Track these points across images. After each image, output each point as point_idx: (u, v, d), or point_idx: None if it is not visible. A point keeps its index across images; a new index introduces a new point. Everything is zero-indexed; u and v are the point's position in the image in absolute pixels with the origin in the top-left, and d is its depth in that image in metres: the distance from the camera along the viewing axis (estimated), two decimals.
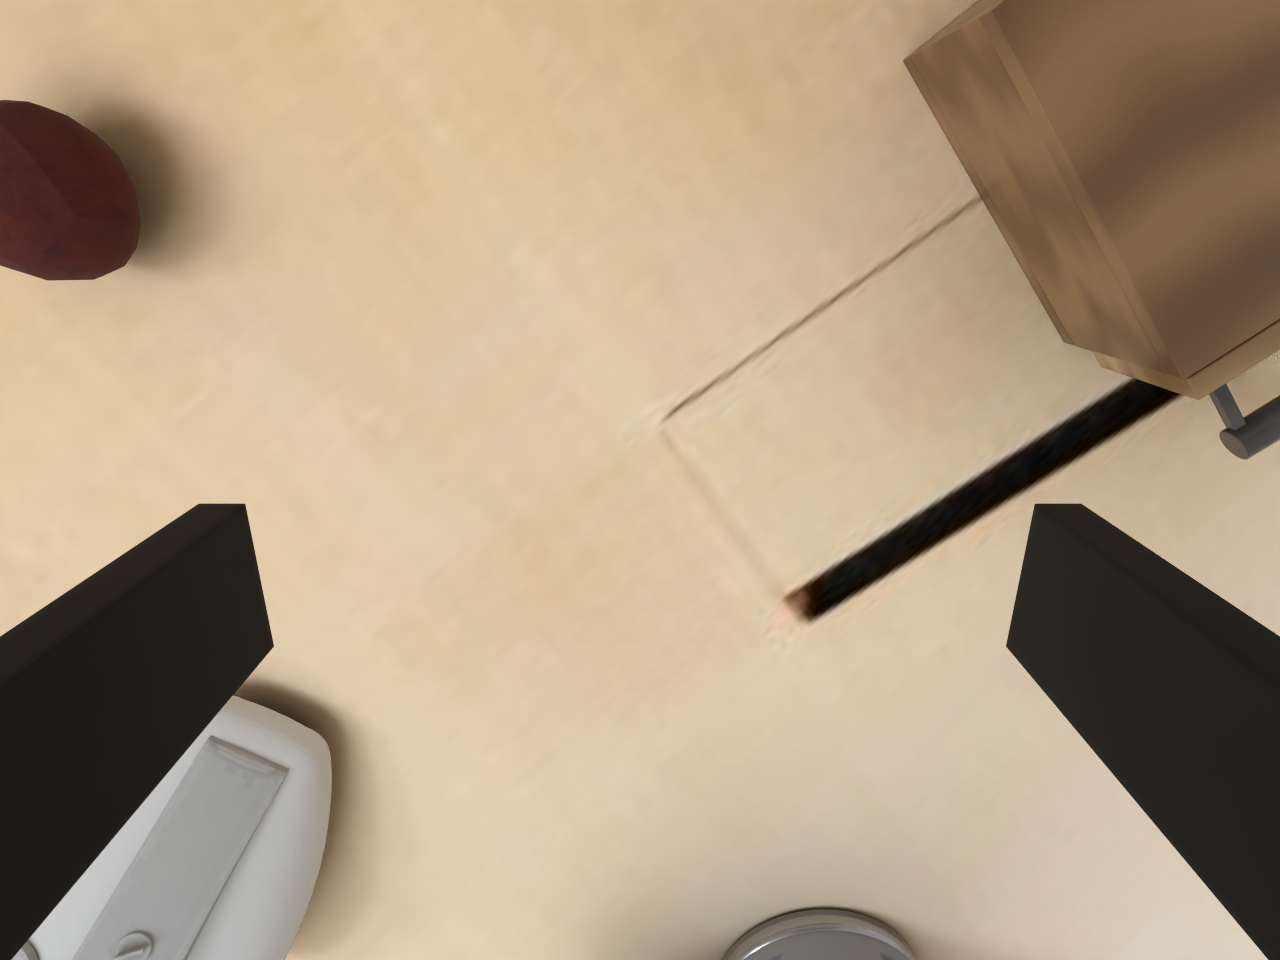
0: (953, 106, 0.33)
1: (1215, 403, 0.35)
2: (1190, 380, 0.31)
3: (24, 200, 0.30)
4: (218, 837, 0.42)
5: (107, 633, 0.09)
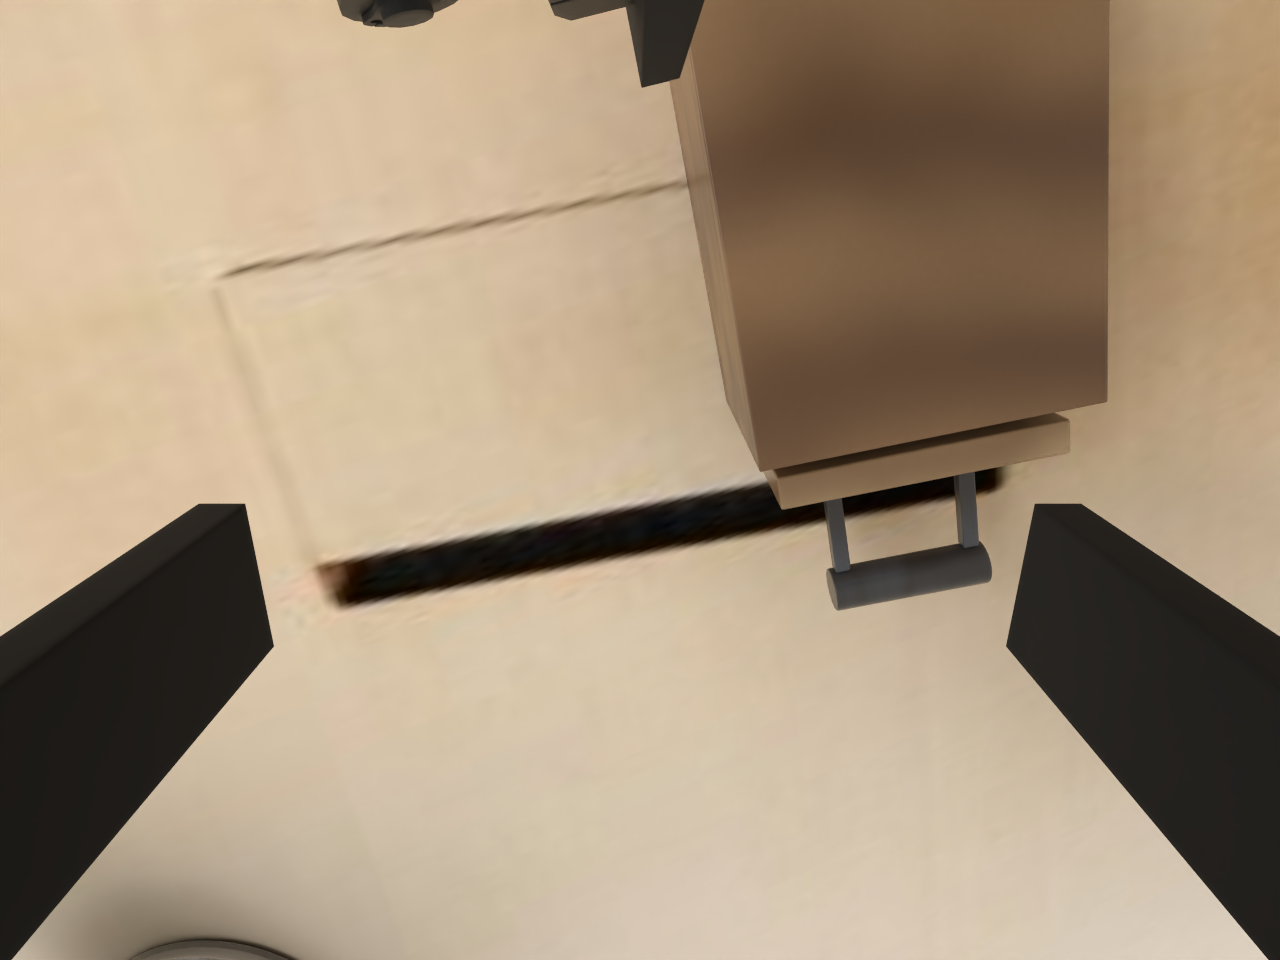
0: None
1: (828, 532, 0.29)
2: (778, 481, 0.25)
3: None
4: None
5: (107, 633, 0.09)
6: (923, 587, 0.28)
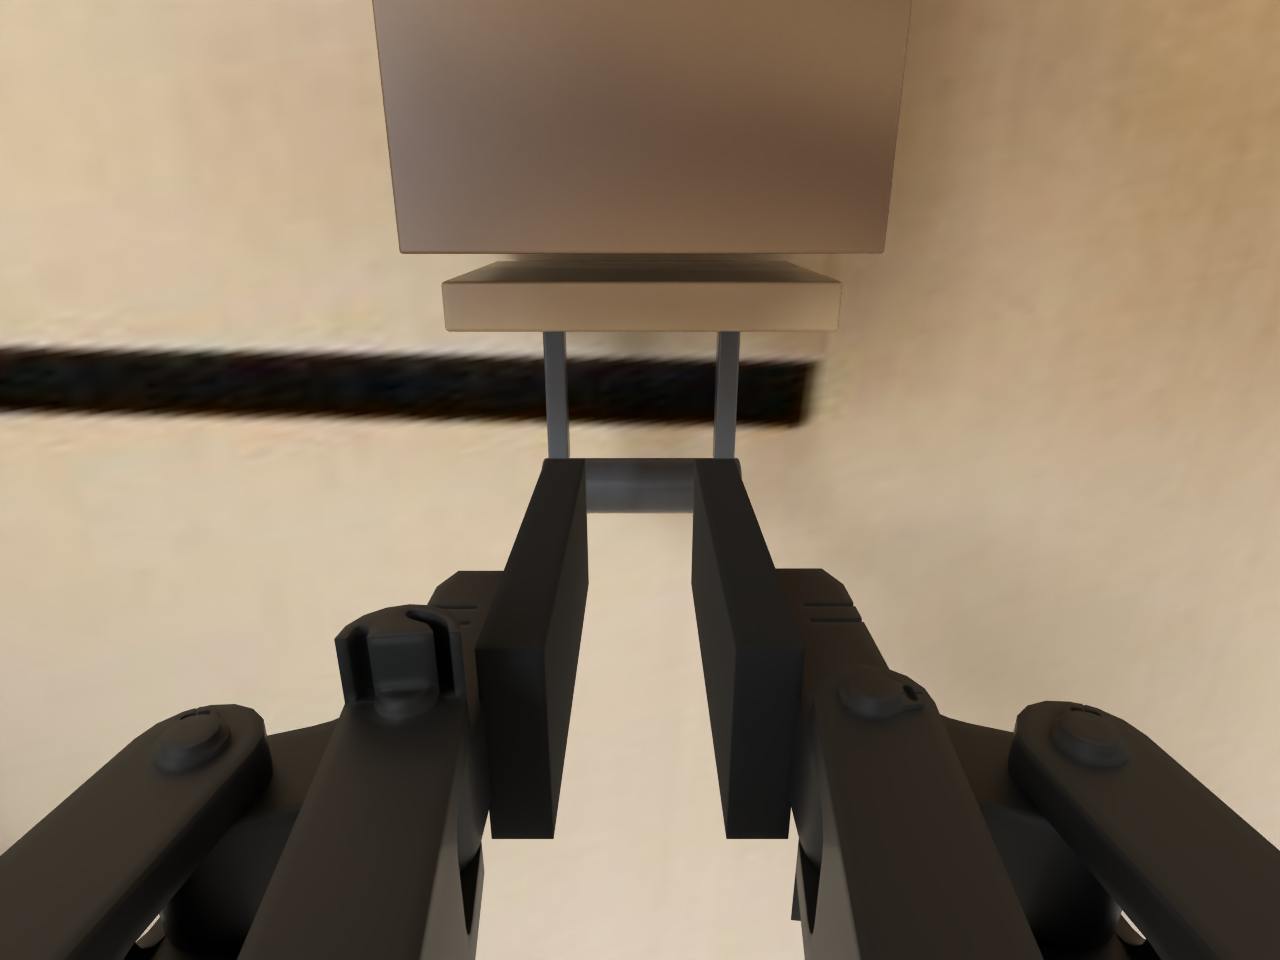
0: None
1: None
2: (443, 287, 0.18)
3: None
4: None
5: (569, 549, 0.11)
6: (653, 500, 0.22)
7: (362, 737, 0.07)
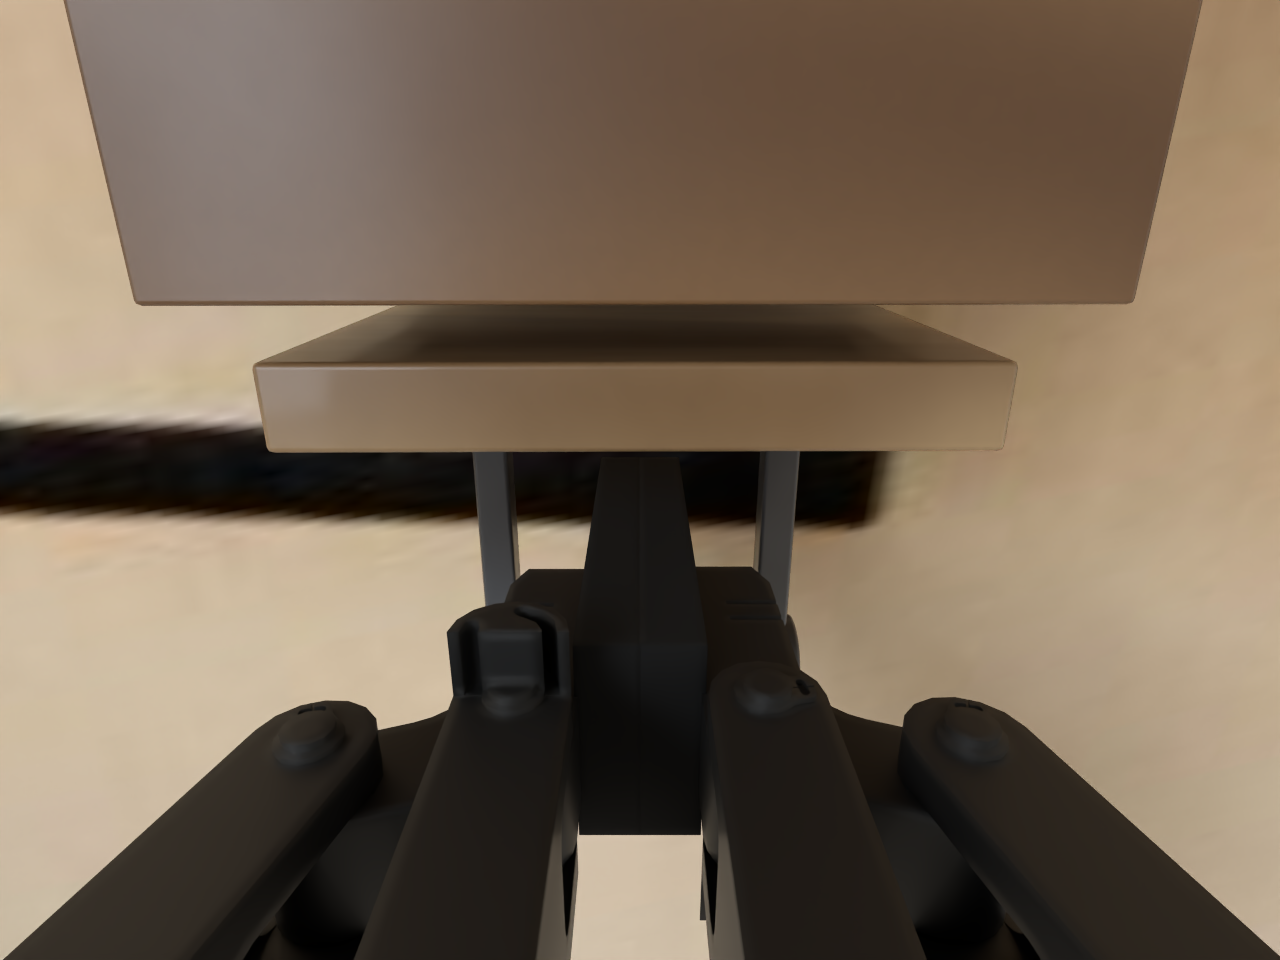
0: None
1: None
2: (255, 373, 0.09)
3: None
4: None
5: None
6: None
7: (471, 731, 0.07)
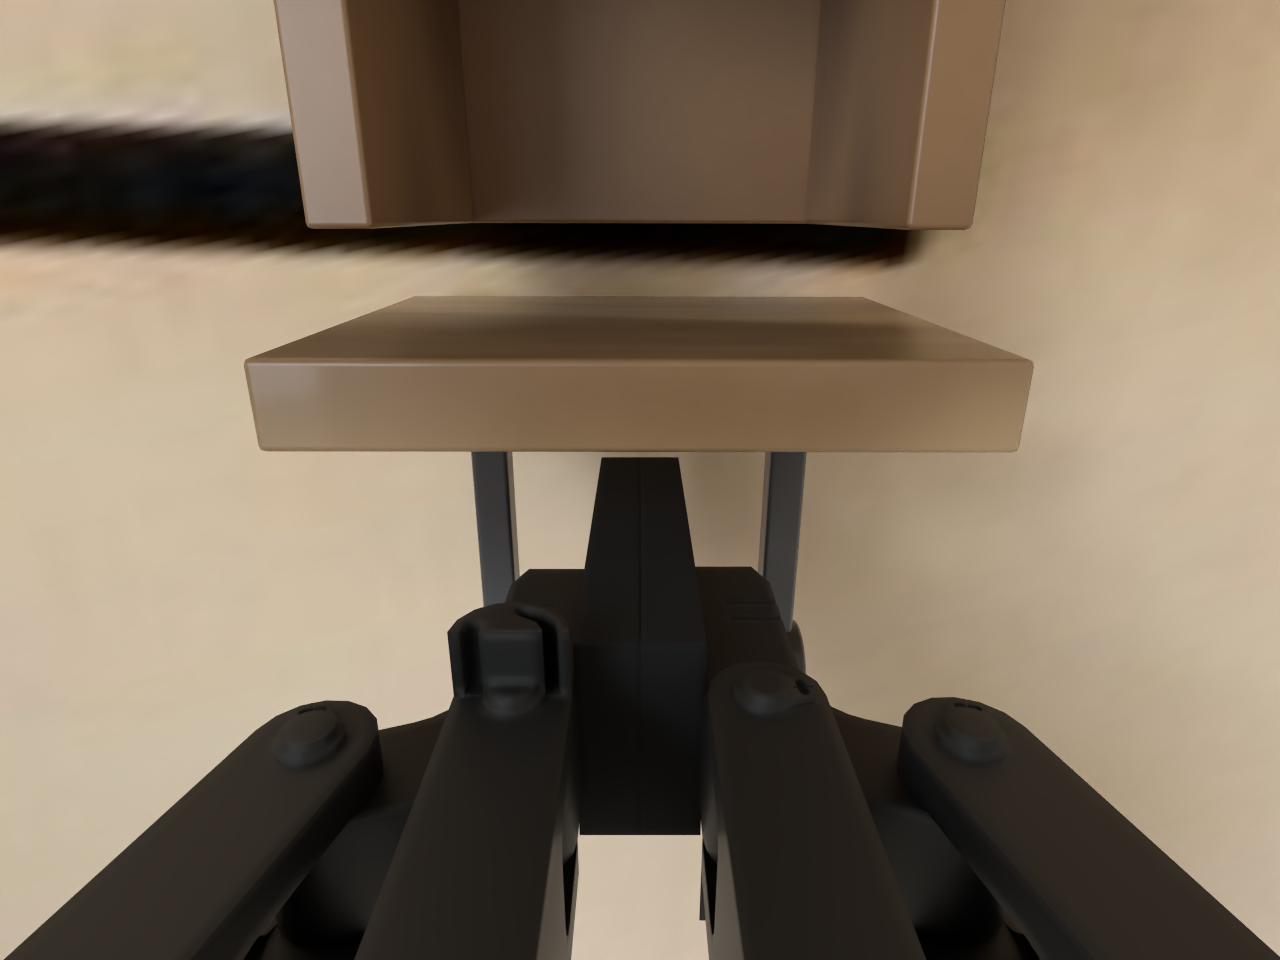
0: None
1: None
2: (246, 369, 0.09)
3: None
4: None
5: None
6: None
7: (472, 731, 0.07)
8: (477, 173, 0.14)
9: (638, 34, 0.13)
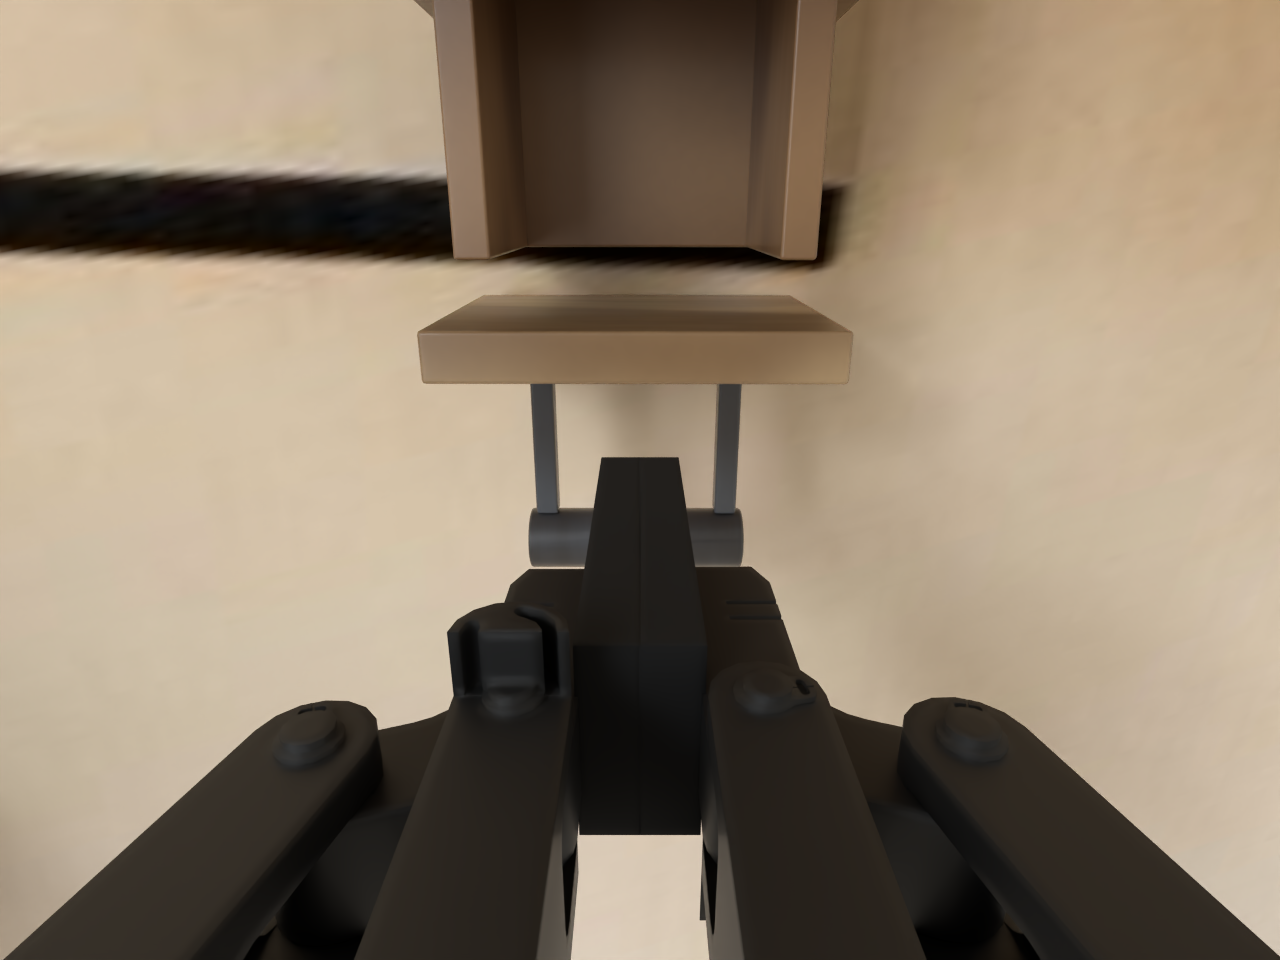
0: None
1: None
2: (418, 337, 0.16)
3: None
4: None
5: None
6: None
7: (471, 731, 0.07)
8: (530, 215, 0.21)
9: (635, 127, 0.20)
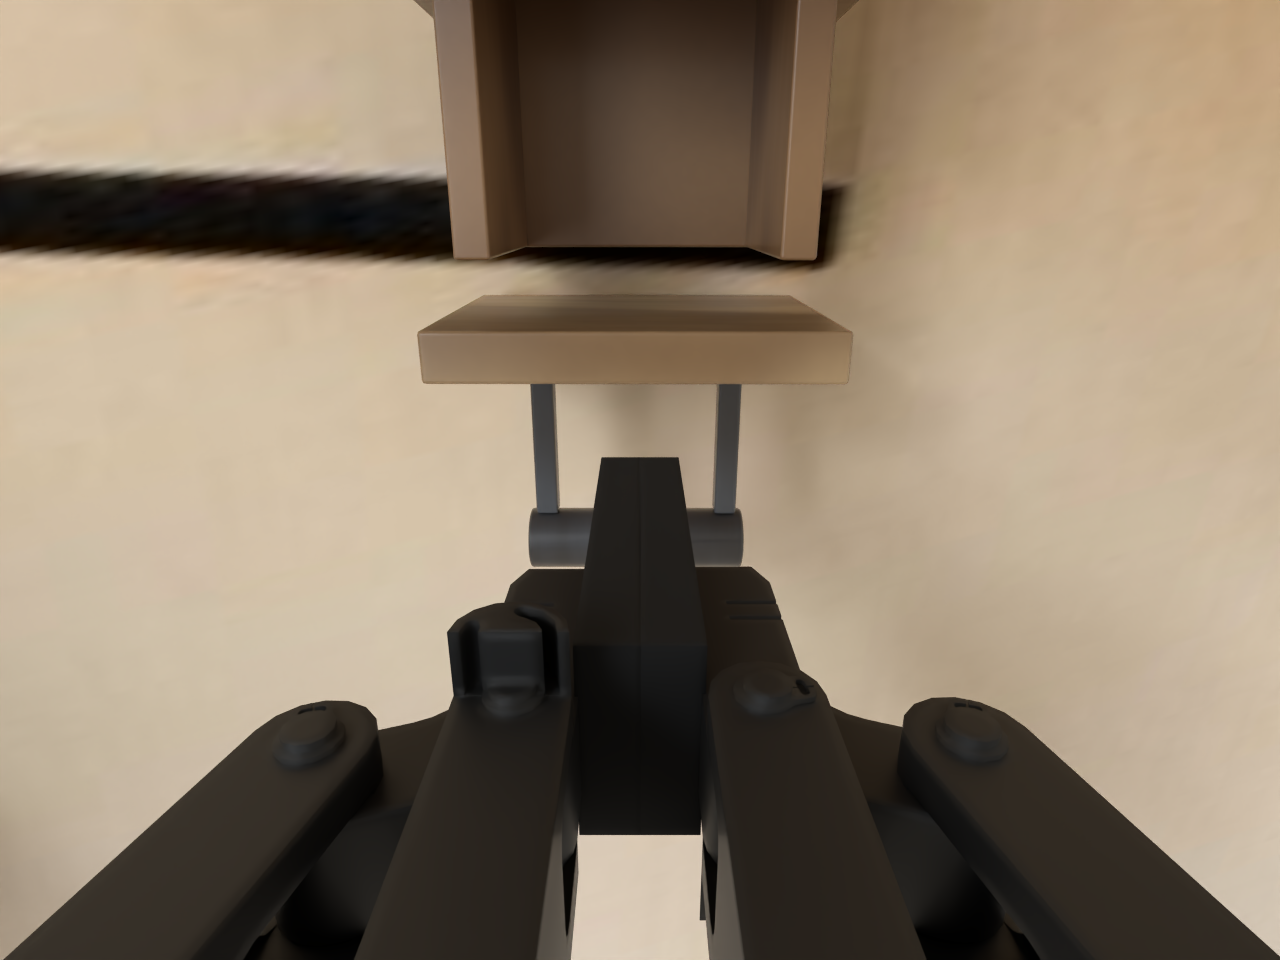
0: None
1: None
2: (418, 337, 0.16)
3: None
4: None
5: None
6: None
7: (471, 731, 0.07)
8: (530, 215, 0.21)
9: (635, 127, 0.20)
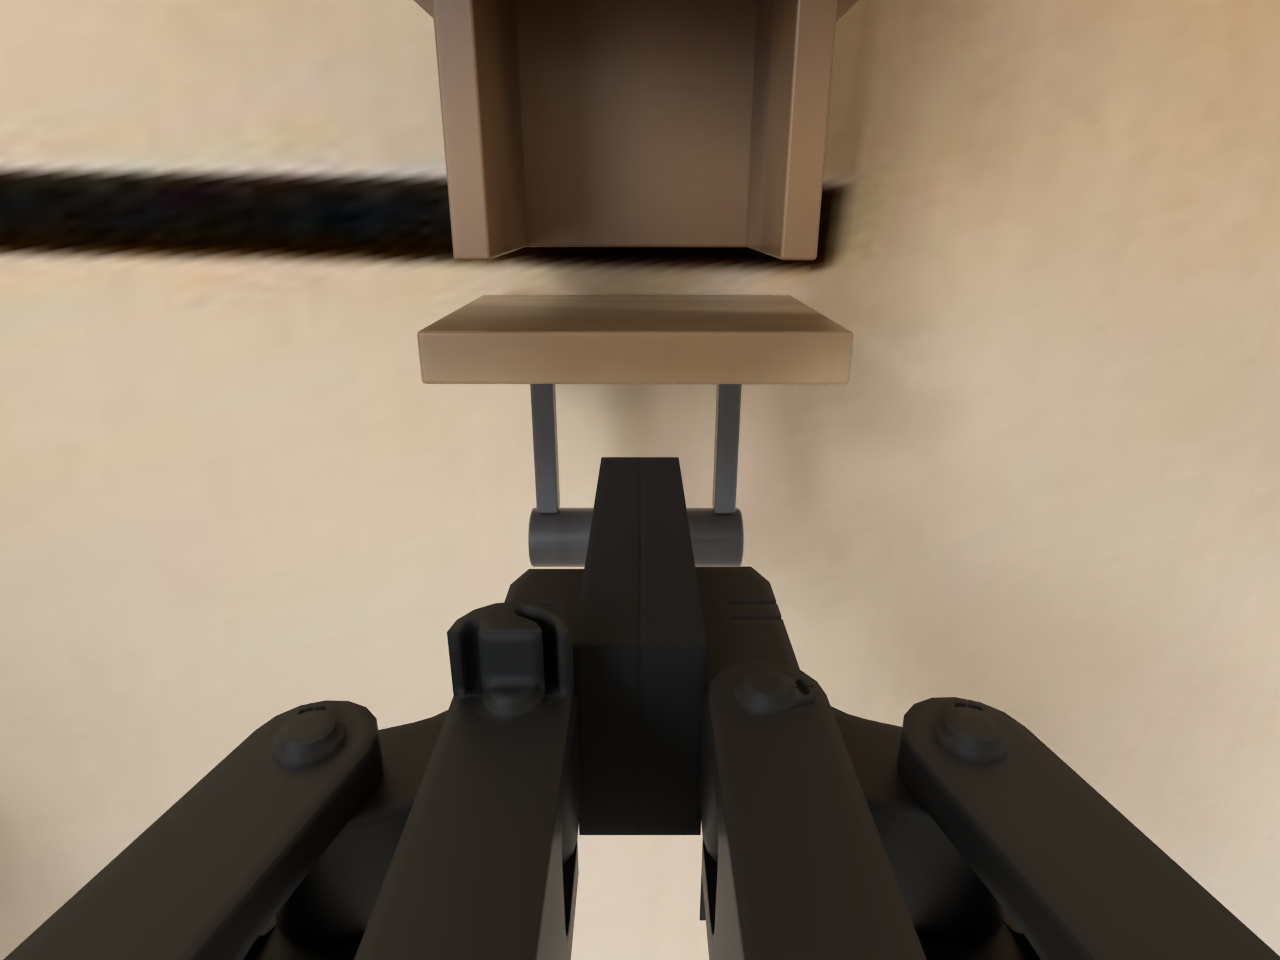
0: None
1: None
2: (418, 337, 0.16)
3: None
4: None
5: None
6: None
7: (471, 731, 0.07)
8: (530, 215, 0.21)
9: (635, 127, 0.20)
